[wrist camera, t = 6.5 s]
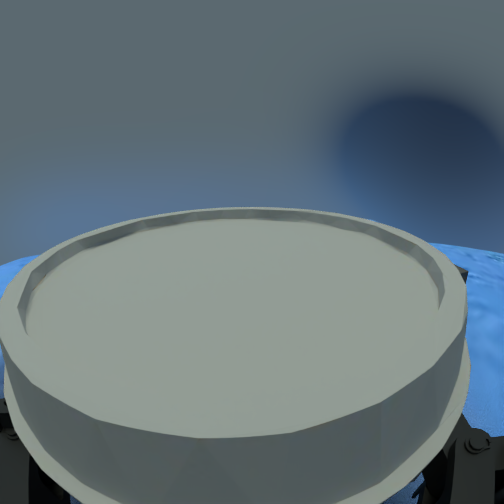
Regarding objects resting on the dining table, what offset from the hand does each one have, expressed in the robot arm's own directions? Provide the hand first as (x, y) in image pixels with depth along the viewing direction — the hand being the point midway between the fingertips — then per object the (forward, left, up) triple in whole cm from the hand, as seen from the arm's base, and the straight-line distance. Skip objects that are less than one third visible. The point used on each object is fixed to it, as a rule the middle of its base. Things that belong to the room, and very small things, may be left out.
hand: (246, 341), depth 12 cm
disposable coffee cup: (+1, +4, -7) cm, 8 cm away
